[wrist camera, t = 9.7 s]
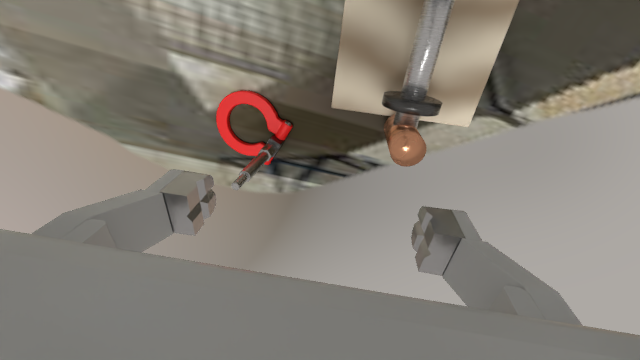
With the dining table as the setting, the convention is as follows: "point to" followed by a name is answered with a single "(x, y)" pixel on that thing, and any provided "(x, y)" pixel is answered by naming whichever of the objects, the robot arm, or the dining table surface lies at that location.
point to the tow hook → (259, 150)
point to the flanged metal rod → (417, 86)
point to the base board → (395, 48)
